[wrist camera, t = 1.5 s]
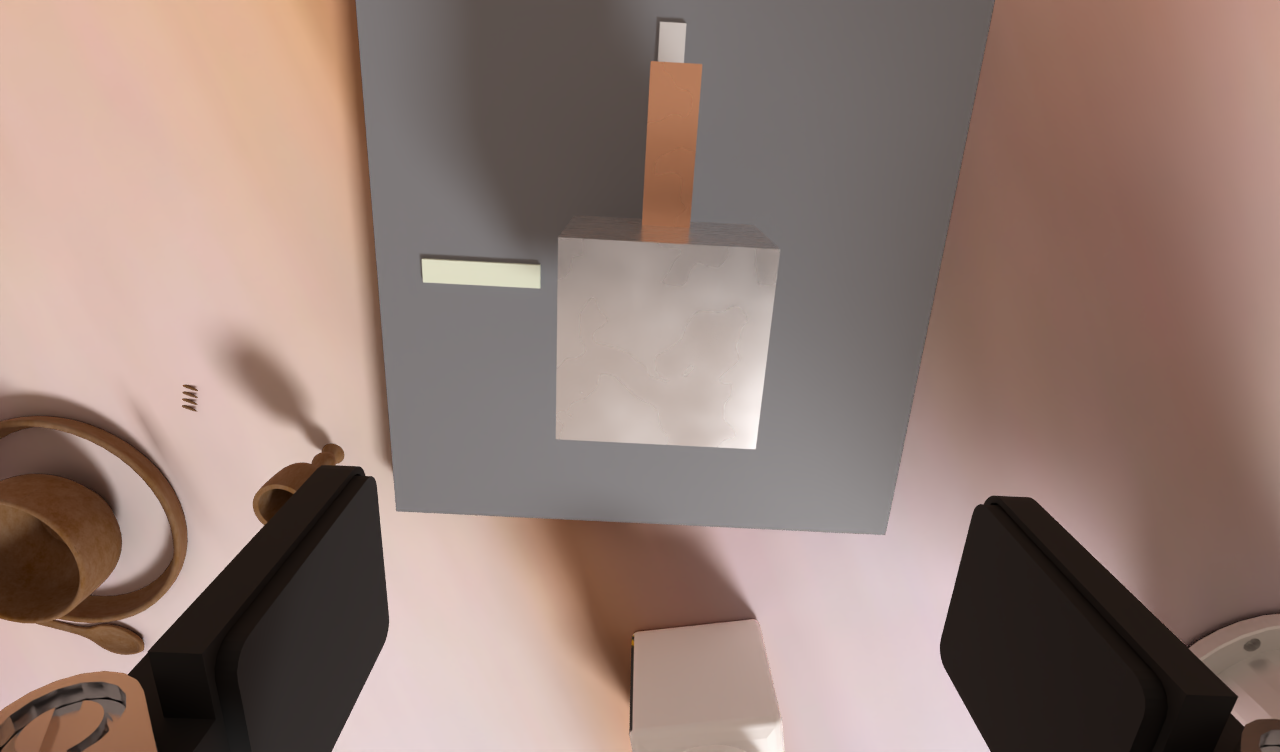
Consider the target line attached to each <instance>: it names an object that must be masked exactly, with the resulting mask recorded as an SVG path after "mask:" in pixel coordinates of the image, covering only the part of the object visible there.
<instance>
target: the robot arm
mask: <svg viewBox="0 0 1280 752" xmlns="http://www.w3.org/2000/svg"><path fill="white" fill-rule="evenodd" d="M388 627H389V613H388V602H387V591H386V580H385V570H384V559H383V548H382V537H381V527H380V516H379V505H378V494H377V485H376V481H375V479H374V478H373V477H372V476H365V473H364V471H363V469H362V468H361V467H357V466H335V465H321V466H320V467H319V468H317V469H316V471H315V472H314V473H313V474H312V475H311V476H310V477H309V478H308V479H307V480H306V481H305V482H304V483H303V485H302V486H301V487H300V488H299V489H298V490H297V491H296V492H295V493H294V494H293V495H292V496H291V497H290V499H289V500H288V501H287V502H286V503H285V504H284V505H283V506H282V507H281V508H280V509H279V510H278V512H277V513H276V514H275V515H274V516H273V517H272V518H271V519H270V520H269V521H268V522H267V523H266V524H265V526H264V527H263V528H262V529H261V530H260V531H259V532H258V533H257V534H256V535H255V536H254V537H253V538H252V540H251V541H250V542H249V543H248V544H247V545H246V546H245V547H244V548H243V549H242V550H241V551H240V553H239V554H238V555H237V556H236V557H235V558H234V559H233V560H232V561H231V562H230V563H229V564H228V565H227V567H226V568H225V569H224V570H223V571H222V572H221V573H220V574H219V575H218V576H217V577H216V578H215V579H214V581H213V582H212V583H211V584H210V585H209V586H208V587H207V588H206V589H205V590H204V591H203V592H202V593H201V595H200V596H199V597H198V598H197V599H196V600H195V601H194V602H193V603H192V604H191V605H190V606H189V608H188V609H187V610H186V611H185V612H184V613H183V614H182V615H181V616H180V617H179V618H178V619H177V620H176V622H175V623H174V624H173V625H172V626H171V627H170V628H169V629H168V630H167V631H166V632H165V633H164V634H163V636H162V637H161V638H160V639H159V640H158V641H157V642H156V643H155V644H154V645H153V646H152V647H151V649H150V650H149V651H148V653H147V654H146V655H145V656H144V658H143V659H142V660H141V661H140V662H139V663H138V664H137V665H136V666H135V667H134V668H133V669H132V670H131V672H130V673H129V674H128V675H127V674H125V673H118V672H109V671H101V672H92V673H83V674H79V675H75V676H72V677H68V678H65V679H61V680H58V681H55V682H52V683H50V684H48V685H46V686H43V687H41V688H39V689H36V690H34V691H32V692H30V693H28V694H26V695H25V696H23V697H21V698H20V699H18V700H16V701H15V702H13V703H11V704H10V705H8V706H6V707H5V708H4V709H2V710H1V711H0V752H332V750H333V748H334V746H335V743H336V741H337V739H338V737H339V735H340V733H341V731H342V729H343V727H344V725H345V723H346V721H347V719H348V717H349V715H350V713H351V711H352V709H353V707H354V705H355V703H356V701H357V699H358V697H359V694H360V692H361V690H362V688H363V686H364V684H365V682H366V680H367V678H368V676H369V674H370V672H371V670H372V668H373V666H374V664H375V662H376V660H377V658H378V656H379V654H380V652H381V650H382V647H383V645H384V643H385V641H386V637H387V633H388ZM940 654H941V660H942V663H943V666H944V668H945V670H946V672H947V673H948V675H949V677H950V679H951V681H952V682H953V684H954V686H955V688H956V690H957V691H958V693H959V695H960V697H961V699H962V701H963V702H964V704H965V706H966V708H967V710H968V711H969V713H970V715H971V717H972V719H973V720H974V722H975V724H976V726H977V728H978V729H979V731H980V733H981V735H982V737H983V738H984V740H985V742H986V744H987V746H988V747H989V749H990V751H991V752H1280V614H1272V615H1263V616H1259V617H1255V618H1251V619H1247V620H1243V621H1239V622H1237V623H1234V624H1232V625H1229V626H1227V627H1224V628H1221V629H1219V630H1217V631H1215V632H1213V633H1212V634H1210V635H1208V636H1206V637H1204V638H1202V639H1201V640H1199V641H1197V642H1196V643H1195V644H1193V645H1192V646H1191V647H1189V648H1187V647H1186V646H1185V645H1184V644H1183V643H1182V642H1181V641H1180V640H1179V639H1178V638H1177V637H1176V636H1175V635H1174V634H1173V633H1172V632H1171V631H1170V630H1169V629H1168V628H1167V627H1166V626H1165V625H1164V624H1163V623H1162V622H1160V621H1159V620H1158V619H1157V618H1156V617H1155V616H1154V615H1153V614H1152V613H1151V612H1150V611H1149V610H1148V609H1147V608H1146V607H1145V606H1144V605H1143V604H1142V603H1141V602H1140V601H1139V600H1138V599H1137V598H1136V597H1135V596H1134V595H1133V594H1132V593H1130V592H1129V591H1128V590H1127V589H1126V588H1125V587H1124V586H1123V585H1122V584H1121V583H1120V582H1119V581H1118V580H1117V579H1116V578H1115V577H1114V576H1113V575H1112V574H1111V573H1110V572H1109V571H1108V570H1107V569H1106V568H1105V567H1104V566H1103V565H1101V564H1100V563H1099V562H1098V561H1097V560H1096V559H1095V558H1094V557H1093V556H1092V555H1091V554H1090V553H1089V552H1088V551H1087V550H1086V549H1085V548H1084V547H1083V546H1082V545H1081V544H1080V543H1079V542H1078V541H1077V540H1076V539H1075V538H1074V537H1073V536H1071V535H1070V534H1069V533H1068V532H1067V531H1066V530H1065V529H1064V528H1063V527H1062V526H1061V525H1060V524H1059V523H1058V522H1057V521H1056V520H1055V519H1054V518H1053V517H1052V516H1051V515H1050V514H1049V513H1048V512H1047V511H1046V510H1045V509H1044V508H1042V507H1041V506H1040V505H1039V504H1038V503H1037V502H1036V501H1035V500H1033V499H1032V498H1028V497H1010V496H991V497H989V498H988V499H987V500H986V501H985V503H984V504H980V505H978V506H977V507H976V508H975V509H974V512H973V515H972V519H971V523H970V526H969V530H968V534H967V538H966V542H965V546H964V550H963V554H962V558H961V562H960V566H959V570H958V574H957V578H956V582H955V586H954V590H953V594H952V598H951V602H950V606H949V609H948V613H947V617H946V621H945V625H944V629H943V633H942V637H941V642H940Z"/></svg>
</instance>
